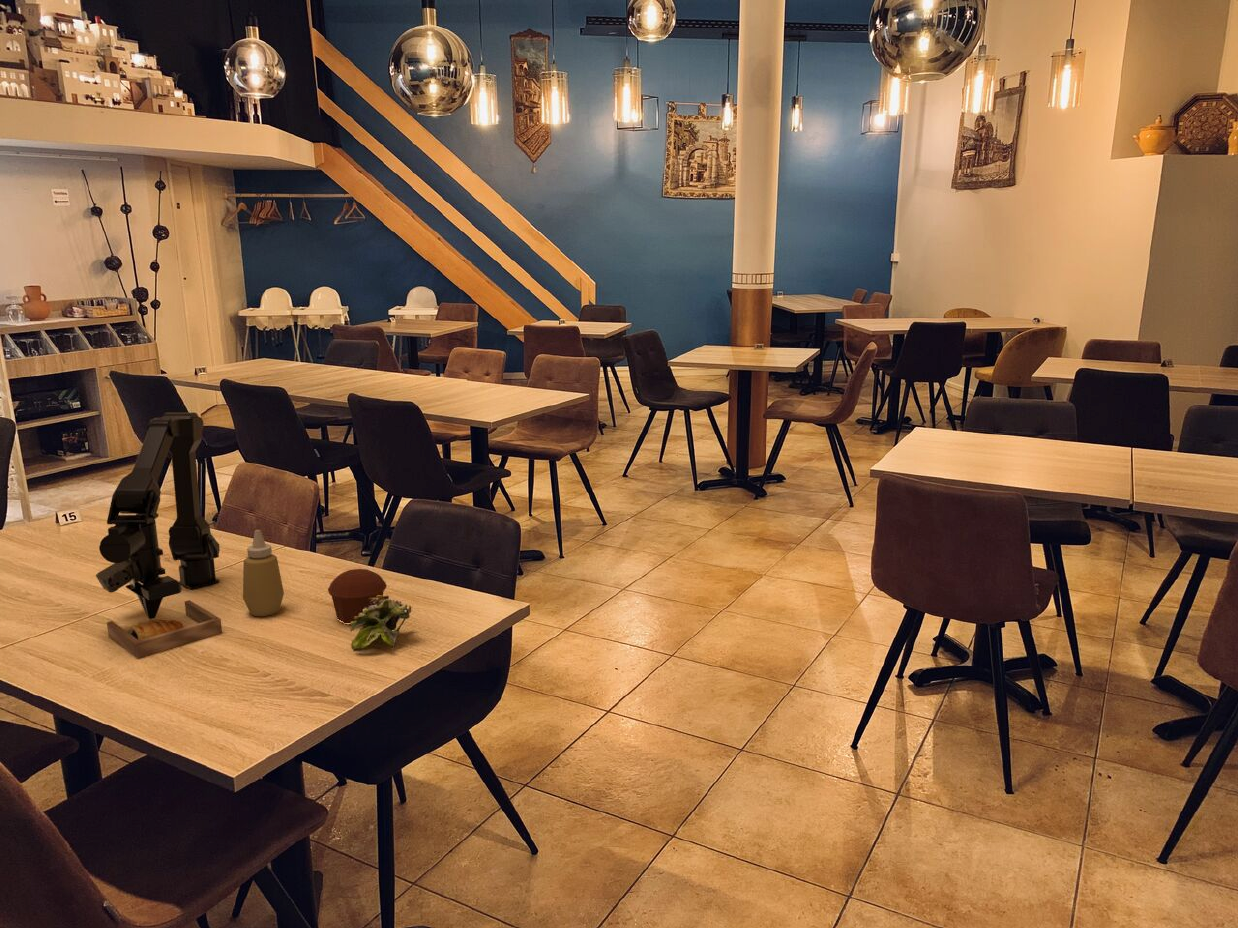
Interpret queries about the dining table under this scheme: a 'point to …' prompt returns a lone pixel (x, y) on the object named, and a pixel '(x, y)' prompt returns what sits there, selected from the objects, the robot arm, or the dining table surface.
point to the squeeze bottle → (261, 579)
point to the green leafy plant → (379, 621)
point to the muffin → (355, 592)
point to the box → (169, 633)
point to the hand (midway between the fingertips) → (151, 618)
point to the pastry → (154, 628)
